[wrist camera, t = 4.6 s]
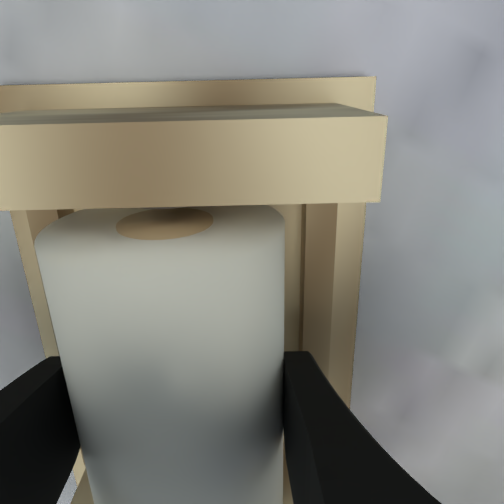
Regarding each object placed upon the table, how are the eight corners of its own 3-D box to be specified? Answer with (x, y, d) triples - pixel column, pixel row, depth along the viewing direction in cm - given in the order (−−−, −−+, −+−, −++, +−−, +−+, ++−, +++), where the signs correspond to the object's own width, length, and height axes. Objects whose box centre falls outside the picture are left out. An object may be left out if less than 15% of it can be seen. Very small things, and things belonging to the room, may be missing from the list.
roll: (289, 435, 14) (273, 612, 9) (143, 421, 15) (62, 577, 10) (292, 193, 11) (270, 278, 6) (108, 190, 12) (-32, 264, 7)
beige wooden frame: (366, 76, 12) (457, 72, 6) (338, 459, 17) (377, 624, 12) (1, 86, 12) (-194, 89, 7) (86, 463, 17) (15, 630, 12)
